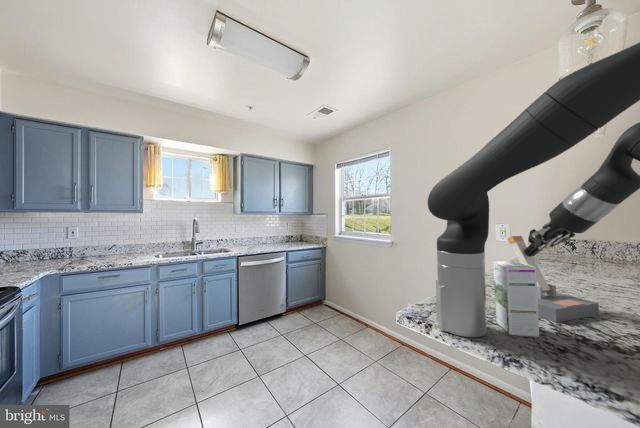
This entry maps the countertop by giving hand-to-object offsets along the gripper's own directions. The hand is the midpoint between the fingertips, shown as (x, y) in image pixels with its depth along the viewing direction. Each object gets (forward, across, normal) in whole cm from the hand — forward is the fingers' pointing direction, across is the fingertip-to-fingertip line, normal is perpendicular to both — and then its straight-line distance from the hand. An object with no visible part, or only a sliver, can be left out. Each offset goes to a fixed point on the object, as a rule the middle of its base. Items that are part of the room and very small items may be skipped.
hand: (528, 253), depth 67 cm
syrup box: (+2, -20, -18) cm, 27 cm away
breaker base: (+7, 0, -12) cm, 14 cm away
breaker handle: (+4, 0, -10) cm, 11 cm away
